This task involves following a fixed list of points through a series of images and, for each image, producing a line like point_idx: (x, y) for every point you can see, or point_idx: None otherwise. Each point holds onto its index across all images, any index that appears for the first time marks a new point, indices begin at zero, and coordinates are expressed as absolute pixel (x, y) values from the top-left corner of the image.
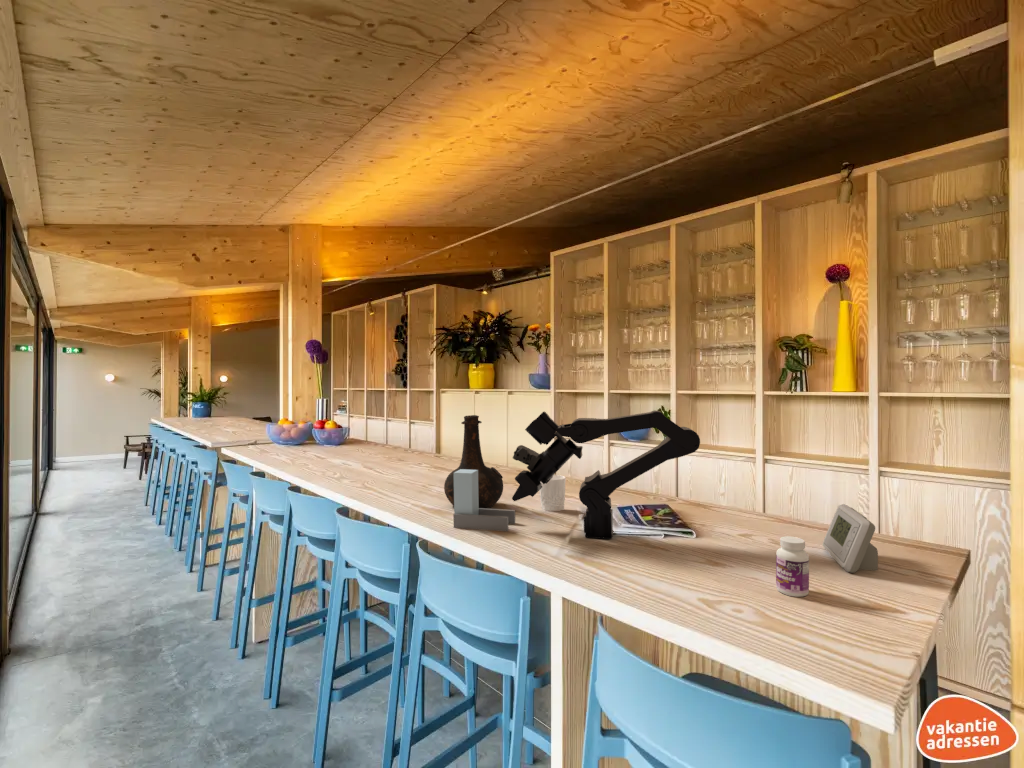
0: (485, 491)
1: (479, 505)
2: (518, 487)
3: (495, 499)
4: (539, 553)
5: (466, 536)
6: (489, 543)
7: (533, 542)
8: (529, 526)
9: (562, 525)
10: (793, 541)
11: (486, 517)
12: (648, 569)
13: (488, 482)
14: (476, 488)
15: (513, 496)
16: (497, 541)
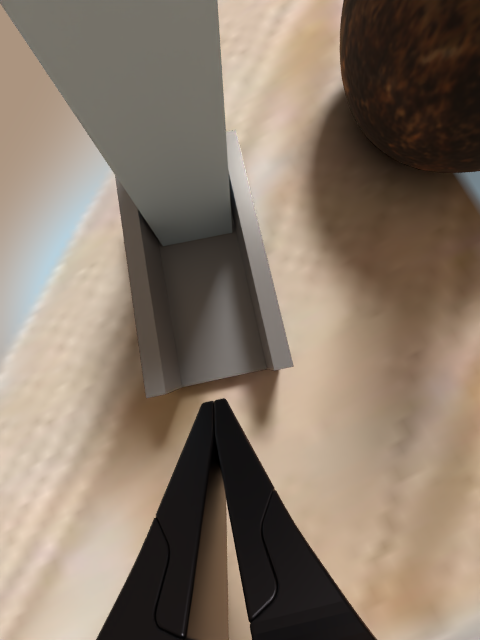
0: (429, 102)
1: (377, 142)
2: (140, 553)
3: (457, 167)
4: (4, 619)
5: (102, 267)
6: (57, 378)
7: (120, 531)
8: (303, 417)
9: (382, 548)
10: None
11: (133, 296)
12: None
13: None
14: (180, 96)
15: (193, 425)
16: (86, 393)
